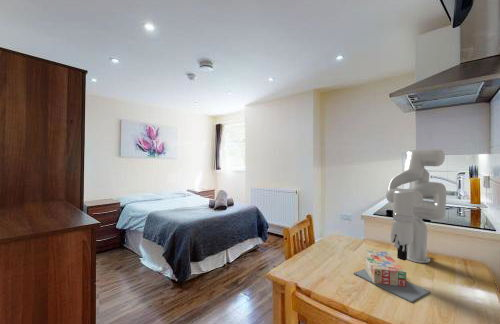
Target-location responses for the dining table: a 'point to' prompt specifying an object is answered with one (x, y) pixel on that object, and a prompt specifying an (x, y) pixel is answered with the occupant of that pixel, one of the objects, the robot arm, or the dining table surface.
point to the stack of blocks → (384, 269)
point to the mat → (398, 288)
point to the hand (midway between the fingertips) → (402, 259)
